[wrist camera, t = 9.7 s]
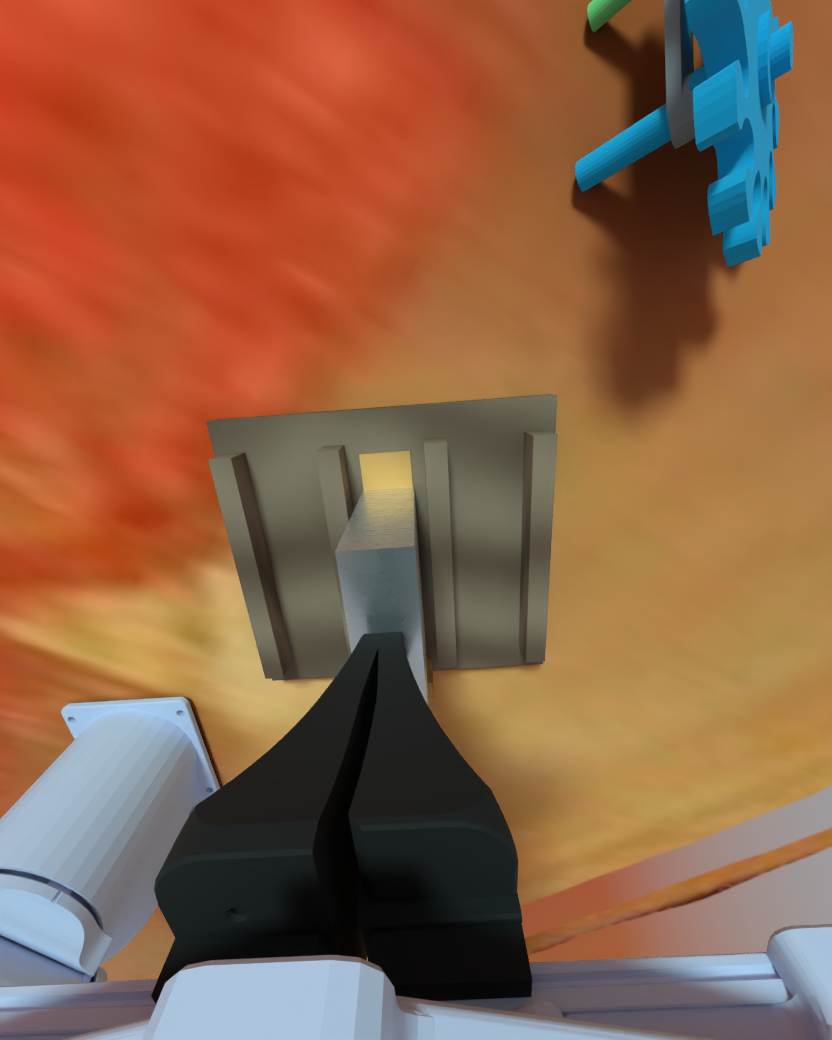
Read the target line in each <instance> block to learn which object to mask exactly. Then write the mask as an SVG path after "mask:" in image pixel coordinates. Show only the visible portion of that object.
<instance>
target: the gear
mask: <svg viewBox="0 0 832 1040" xmlns="http://www.w3.org/2000/svg"><path fill="white" fill-rule="evenodd" d="M630 1H631V0H593V1H592V2H591V3H590V4H589V5H588V8H587V12H588V20H589V24H590V27H591V29H592V31H593V32H596V31H597V30H598V29H599V28H600V27H601V26H602V25H604V24H605V23H606V22H607V21H608V20H609V19H610V18H611V17H613V16H614V15H615V14H616V13H617V12H618V11H619V10H621V9H622V8H623V7H624V6H625V5H626V4H627V3H629V2H630ZM664 33H665V70H666V104H664V105H663V106H661V107H659V108H658V109H656V110H655V111H653V112H652V113H650V114H649V115H647V116H646V117H644V118H643V119H641V120H640V121H638V122H637V123H635V124H634V125H632V126H631V127H629V128H627V129H626V130H624V131H623V132H621V133H620V134H618V135H617V136H615V137H614V138H612V139H611V140H609V141H608V142H606V143H605V144H603V145H602V146H600V147H599V148H597V149H596V150H594V151H592V152H591V153H589V154H588V155H586V156H585V157H583V158H582V159H580V160H579V161H577V163H576V168H575V173H576V179H577V183H578V186H579V188H580V189H581V191H583V192H584V191H586V190H588V189H590V188H591V187H593V186H595V185H596V184H598V183H600V182H601V181H603V180H605V179H606V178H608V177H610V176H612V175H613V174H615V173H617V172H618V171H620V170H622V169H623V168H625V167H627V166H629V165H630V164H632V163H634V162H635V161H637V160H639V159H640V158H642V157H644V156H645V155H647V154H649V153H651V152H652V151H654V150H656V149H657V148H659V147H661V146H662V145H664V144H666V143H667V142H669V141H672V144H673V146H674V148H675V149H677V148H679V147H681V146H682V145H684V144H686V143H688V142H689V141H691V140H693V139H696V146H697V149H698V151H700V152H701V151H702V150H704V149H706V148H708V147H710V146H712V145H713V146H714V148H715V151H716V156H717V164H718V180H717V181H715V182H713V183H711V184H710V185H709V187H708V193H707V201H708V210H709V218H710V223H711V229H712V234H713V236H714V235H716V234H719V233H721V232H723V254H724V258H725V261H726V263H727V265H728V267H730V266H733V265H736V264H739V263H742V262H745V261H748V260H751V259H753V258H756V257H759V256H761V249H762V247H763V246H765V245H768V244H769V242H770V213H769V210H772V209H773V208H774V205H775V198H776V175H775V167H774V155H773V149H775V148H777V147H778V136H779V107H778V103H777V100H776V95H775V79H776V78H778V77H779V76H781V75H783V74H784V73H786V72H788V71H789V70H791V69H792V62H793V27H792V21H790V22H789V23H787V24H786V25H784V26H783V27H781V28H780V29H779V21H778V16H777V17H776V18H774V19H773V14H772V10H771V3H770V0H664ZM693 34H694V35H695V37H696V39H697V41H698V44H699V47H700V50H701V54H702V58H703V63H704V65H703V66H701V67H700V68H698V69H697V70H695V71H694V64H693Z"/></svg>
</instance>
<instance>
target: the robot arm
mask: <svg viewBox="0 0 832 1040" xmlns="http://www.w3.org/2000/svg"><path fill="white" fill-rule="evenodd" d="M61 713H62V716H63V718H64V720H65V722H66V724H67V725H68V727H69V729H70V731H71V733H72V735H73V737H74V739H75V740H74V741H73V742H72V743H71V744H70V746H69V747H68V748H67V749H66V750H65V751H64V752H63V753H62V754H61V755H60V756H59V757H58V758H57V759H56V760H55V761H54V763H53V764H52V765H51V766H50V767H49V768H48V769H47V770H46V771H45V772H44V773H43V774H42V775H41V776H40V777H39V778H38V780H37V781H36V782H35V783H34V784H33V785H32V786H31V787H30V788H29V789H28V790H27V791H26V792H25V793H24V794H23V795H22V797H21V798H20V799H19V800H18V801H17V802H16V803H15V804H14V805H13V806H12V807H11V808H10V809H9V810H8V811H7V813H6V814H5V815H4V816H3V817H2V818H1V819H0V1040H832V924H822V925H800V926H790V927H784V928H782V929H779V930H777V931H775V932H774V933H773V934H772V935H771V937H770V939H769V941H768V946H767V952H762V953H761V952H759V953H737V954H715V955H691V956H671V957H670V956H669V957H646V958H623V959H601V960H578V961H556V962H533V963H529V959H528V954H527V949H526V944H525V939H524V934H523V929H522V924H521V923H522V915H521V909H520V904H519V899H518V894H517V877H518V858H517V851H516V848H515V844H514V841H513V838H512V835H511V832H510V830H509V827H508V825H507V822H506V820H505V818H504V816H503V813H502V811H501V809H500V807H499V805H498V803H497V801H496V799H495V797H494V795H493V793H492V791H491V789H490V788H489V787H488V786H487V785H486V784H485V783H484V782H483V780H482V779H481V778H480V777H479V776H478V775H477V774H476V773H475V772H474V770H473V769H472V768H471V767H470V766H469V765H468V763H467V762H466V761H465V760H464V758H463V757H462V756H461V755H460V754H459V752H458V751H457V749H456V748H455V747H454V745H453V744H452V743H451V741H450V740H449V738H448V737H447V736H446V734H445V733H444V731H443V730H442V728H441V727H440V725H439V724H438V722H437V720H436V719H435V717H434V716H433V714H432V712H431V710H430V709H429V707H428V705H427V703H426V701H425V699H424V697H423V695H422V693H421V691H420V689H419V687H418V685H417V682H416V680H415V678H414V675H413V672H412V670H411V667H410V664H409V661H408V658H407V654H406V649H405V639H404V634H403V633H402V632H385V633H369V634H364V635H363V636H362V637H361V638H360V640H359V642H358V643H357V645H356V647H355V648H354V650H353V652H352V653H351V655H350V657H349V658H348V660H347V661H346V663H345V664H344V666H343V667H342V669H341V670H340V671H339V673H338V674H337V676H336V677H335V679H334V680H333V681H332V683H331V684H330V685H329V687H328V688H327V689H326V690H325V692H324V693H323V694H322V696H321V697H320V698H319V699H318V701H317V702H316V703H315V704H314V705H313V707H312V708H311V709H310V710H309V711H308V712H307V713H306V714H305V716H304V717H303V718H302V719H301V720H300V721H299V722H298V723H297V724H296V725H295V726H294V727H293V728H292V729H291V730H290V731H289V732H288V733H287V734H286V735H285V736H284V737H283V738H282V739H281V740H280V741H279V742H278V743H277V744H276V745H275V746H273V747H272V748H271V749H270V750H269V751H268V752H267V753H265V754H264V755H263V756H262V757H261V758H259V759H258V760H257V761H256V762H255V763H253V764H252V765H251V766H250V767H248V768H247V769H246V770H245V771H243V772H242V773H241V774H239V775H238V776H237V777H235V778H234V779H233V780H231V781H230V782H229V783H227V784H226V785H224V786H223V787H221V788H220V786H219V783H218V781H217V778H216V775H215V772H214V769H213V767H212V764H211V761H210V758H209V756H208V753H207V750H206V747H205V744H204V742H203V739H202V736H201V733H200V731H199V728H198V725H197V722H196V719H195V717H194V714H193V711H192V708H191V706H190V703H189V701H188V700H187V699H186V698H184V697H169V698H152V699H136V700H120V701H103V702H87V703H71V704H67V705H66V706H65V707H64V708H63V709H62V710H61ZM157 905H159V907H160V909H161V911H162V913H163V915H164V917H165V919H166V921H167V923H168V924H169V926H170V928H171V930H172V932H173V934H174V936H175V940H174V943H173V945H172V947H171V950H170V952H169V954H168V957H167V959H166V961H165V964H164V966H163V969H162V971H161V973H160V976H159V978H158V979H150V980H128V981H107V973H106V971H105V970H104V968H102V967H99V965H100V964H102V963H104V962H106V961H107V960H109V959H110V958H112V957H113V956H114V955H116V954H117V953H118V952H119V951H120V950H121V949H123V948H124V947H125V946H126V945H127V944H128V943H129V942H130V941H131V940H132V939H133V938H134V937H135V935H136V934H137V933H138V932H139V931H140V930H141V929H142V927H143V926H144V925H145V923H146V922H147V921H148V920H149V918H150V917H151V915H152V914H153V912H154V911H155V909H156V907H157ZM367 958H368V961H367Z"/></svg>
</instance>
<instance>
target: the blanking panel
mask: <svg viewBox="0 0 832 1040" xmlns="http://www.w3.org/2000/svg"><path fill="white" fill-rule="evenodd" d="M335 554H336V561H337V567H338V573H339V579H340V586H341V592H342V598H343V604H344V611H345V617H346V623H347V629H348V636H349V642H350V648H351V653H352V652H353V650H354V648H355V647H356V645H357V643H358V642H359V640H360V638H361V637H362V636H363V635H364V634H369V633H385V632H402V633H403V634H404V639H405V649H406V654H407V658H408V661H409V664H410V667H411V670H412V672H413V675H414V678H415V680H416V682H417V685H418V687H419V689H420V691H421V693H422V695H423V697H424V699H425V701H426V703H427V705H428V687H427V664H426V642H425V622H424V609H423V596H422V582H421V569H420V556H419V543H418V530H417V517H416V504H415V490H414V487H407V488H392V489H378V490H364V491H363V492H362V494H361V496H360V498H359V500H358V503H357V505H356V507H355V509H354V511H353V513H352V516H351V518H350V520H349V522H348V524H347V527H346V529H345V531H344V533H343V535H342V537H341V540H340V542H339V544H338V546H337V548H336V551H335Z"/></svg>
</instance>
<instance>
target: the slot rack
mask: <svg viewBox="0 0 832 1040" xmlns="http://www.w3.org/2000/svg"><path fill="white" fill-rule="evenodd" d="M556 410H557V395H551V394H548V395H535V396H522V397H509V398H495V399H482V400H469V401H456V402H443V403H430V404H416V405H403V406H390V407H377V408H364V409H351V410H337V411H324V412H311V413H298V414H285V415H272V416H258V417H245V418H232V419H219V420H213V421H208V422H207V426H208V430H209V434H210V438H211V442H212V446H213V450H214V453H215V457H214V458H212V459H209V460H208V462H209V466H210V469H211V473H212V477H213V481H214V484H215V488H216V492H217V496H218V500H219V503H220V507H221V511H222V515H223V519H224V522H225V526H226V530H227V534H228V538H229V541H230V545H231V549H232V553H233V557H234V560H235V564H236V568H237V572H238V576H239V579H240V583H241V587H242V591H243V595H244V598H245V602H246V606H247V610H248V614H249V617H250V621H251V625H252V629H253V633H254V636H255V640H256V644H257V648H258V652H259V655H260V659H261V663H262V667H263V671H264V674H265V678H266V679H268V678H272V680H289V679H305V678H321V677H336V676H337V674H338V673H339V671H340V670H341V669H342V667H343V666H344V664H345V663H346V661H347V660H348V658H349V657H350V655H351V648H350V642H349V636H348V629H347V623H346V617H345V611H344V604H343V598H342V592H341V586H340V579H339V573H338V567H337V561H336V554H335V551H336V548H337V546H338V544H339V542H340V540H341V537H342V535H343V533H344V531H345V529H346V527H347V524H348V522H349V520H350V518H351V516H352V513H353V511H354V509H355V507H356V505H357V503H358V500H359V498H360V496H361V494H362V492H363V491H364V490H378V489H392V488H407V487H414V490H415V504H416V517H417V530H418V543H419V556H420V569H421V582H422V596H423V609H424V622H425V642H426V664H427V687H428V698H429V697H434V691H433V675H432V671H435V670H451V669H467V668H483V667H499V666H515V665H532V664H543V661H545V646H546V628H547V610H548V591H549V573H550V555H551V537H552V518H553V500H554V482H555V464H556V445H557V434H555V428H556Z"/></svg>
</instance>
